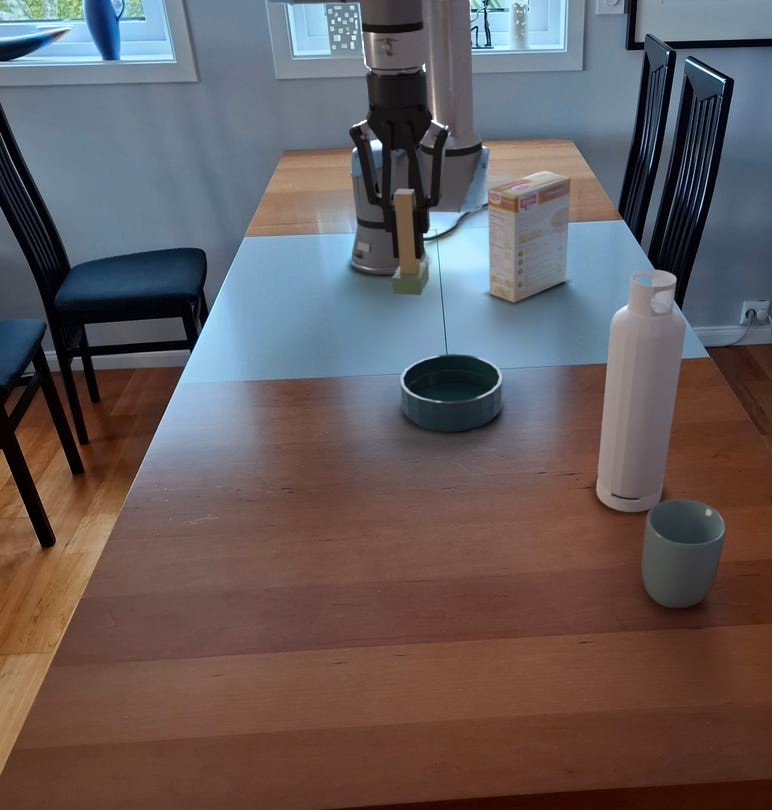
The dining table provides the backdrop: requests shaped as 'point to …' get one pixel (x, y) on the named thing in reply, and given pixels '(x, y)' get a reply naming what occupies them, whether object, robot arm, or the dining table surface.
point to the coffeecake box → (528, 235)
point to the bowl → (451, 392)
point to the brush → (407, 248)
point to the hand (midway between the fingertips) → (409, 254)
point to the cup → (681, 551)
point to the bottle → (640, 394)
